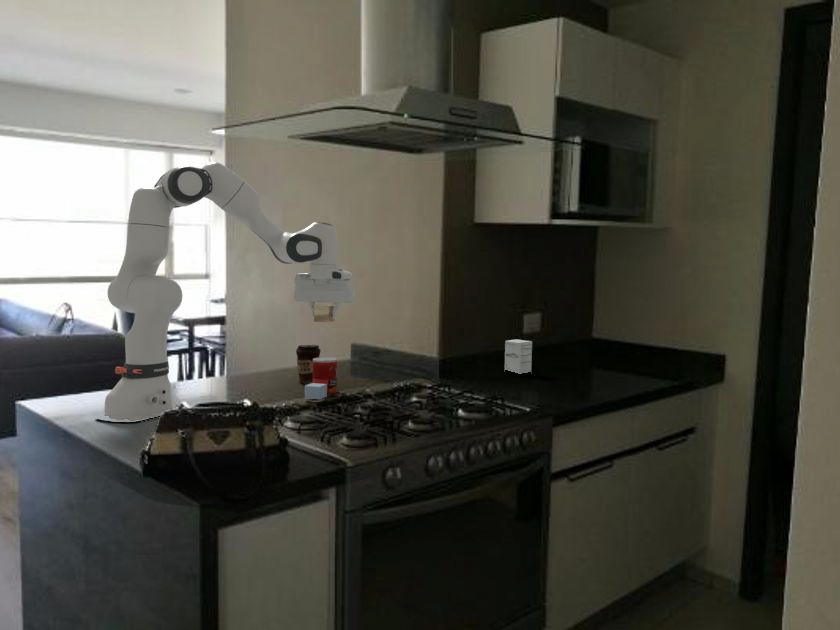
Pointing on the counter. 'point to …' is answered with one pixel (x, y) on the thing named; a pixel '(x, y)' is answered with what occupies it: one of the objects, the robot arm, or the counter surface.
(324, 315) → the maple block
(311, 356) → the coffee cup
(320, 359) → the canned food
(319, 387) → the slate block
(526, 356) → the supplement box
